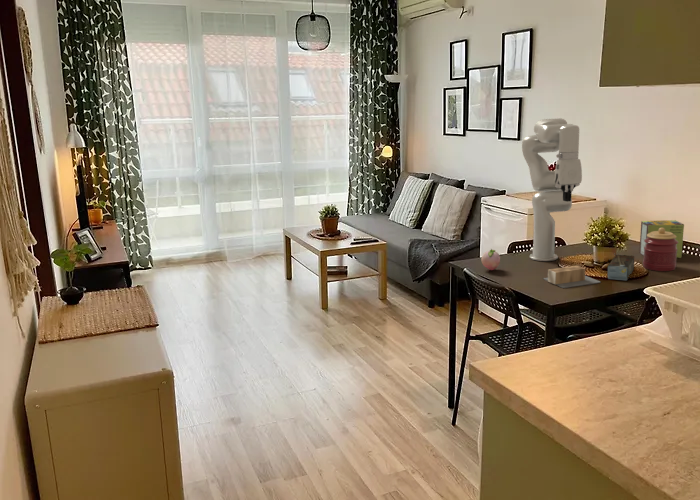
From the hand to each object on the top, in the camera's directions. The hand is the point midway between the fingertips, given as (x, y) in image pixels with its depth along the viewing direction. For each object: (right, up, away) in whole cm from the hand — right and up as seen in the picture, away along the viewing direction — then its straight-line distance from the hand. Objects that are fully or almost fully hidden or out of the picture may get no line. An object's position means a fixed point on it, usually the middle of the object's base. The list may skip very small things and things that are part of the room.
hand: (566, 200), depth 243 cm
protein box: (+55, -23, +31) cm, 67 cm away
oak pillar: (-8, -31, -3) cm, 32 cm away
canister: (+44, -28, +11) cm, 53 cm away
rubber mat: (+2, -33, 0) cm, 33 cm away
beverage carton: (+25, -31, +6) cm, 40 cm away
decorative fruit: (-27, -30, +21) cm, 45 cm away
